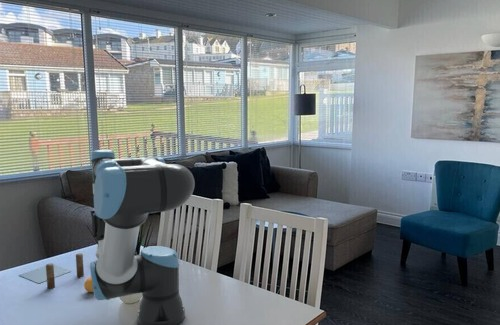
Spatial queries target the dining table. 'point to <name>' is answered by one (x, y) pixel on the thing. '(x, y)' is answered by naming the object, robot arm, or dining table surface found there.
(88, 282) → the ball
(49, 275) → the left post
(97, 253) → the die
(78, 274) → the right post
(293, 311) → the dining table surface
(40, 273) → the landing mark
